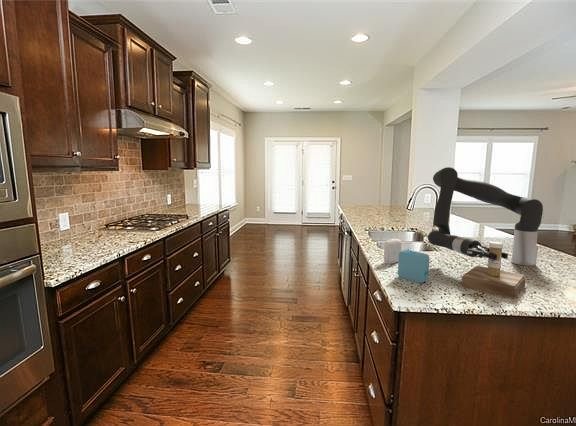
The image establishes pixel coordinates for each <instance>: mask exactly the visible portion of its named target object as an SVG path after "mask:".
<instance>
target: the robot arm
mask: <svg viewBox="0 0 576 426" xmlns="http://www.w3.org/2000/svg"><path fill="white" fill-rule="evenodd" d="M433 174H434V175H433V176H432V182H433V184H435V185H436V186H437V187H438V188H439V189H440V191H439V196H438V199H437V202H436V205H435V208H434V211H433V221H432V224H433V226H435V227H436V228H437V229H438V230H432V231H430V232H429V233H428V235H427V240H428V242H429V244H431V245H432V246H437V247H441V248H445V249H448V250H450V251H454V252H456V253H458V254H462V255H463V256H467V257H470V258H479V259H480V258H481V259H482V258H484V259H488V258H490V259H493V260H497V254H493V253H490V252H489V246H487V245H482V243H481V242H480V241H478V240H477V239H472V238H467V237H464V236H458V235H453V234H451V229H450V225H449V223H450V214H451V207H452V206H451V205H452V201H453V196H454V192H457V193H460V194H462V195H465V196H467V197H470V198H472V199H476V200H477V201H480V202H483V203H487V204H490V205H494V206H498V207H502V208H505V209H507V210H509V211H512V212H514V213H515V214H517V215H518V216H520V217H519V218H520V219H519V222H516V223H515V224H514V230H513V231H514V233H513V242H512V251H511V252H512V253H511V263H512V264H514V265H520V266H526V267H527V266H528V267H529V266H530V267H531V266H532V267H533V266H535V265H536V266H537V261H538V260H537V259H538V251H539V246H538V245H537V241H538V235H539V234H538V231H539V227H540V226H541V224H542V219H543V211H544V205H543V203H542V201H540V200H538V199H536V198H531V197H525V196H524V197H523V196H520V195H516V194H512V193H509V192H507V191H506V190H503V189H502V188H500V187H499V186H496V185H494V184H491V183H488V182H485V181H482V180H474V179H473V180H472V179H465V178H461V177H458V175H459V174H458V171H457V170H456V168H454V167H451V166H448V167H447V166H446V167H443V168H441V169H439V170H438V171H436V172H435V173H433ZM508 258H509V253H508V252H504V251H502V256H501V259H505V260H507V259H508Z"/></svg>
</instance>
